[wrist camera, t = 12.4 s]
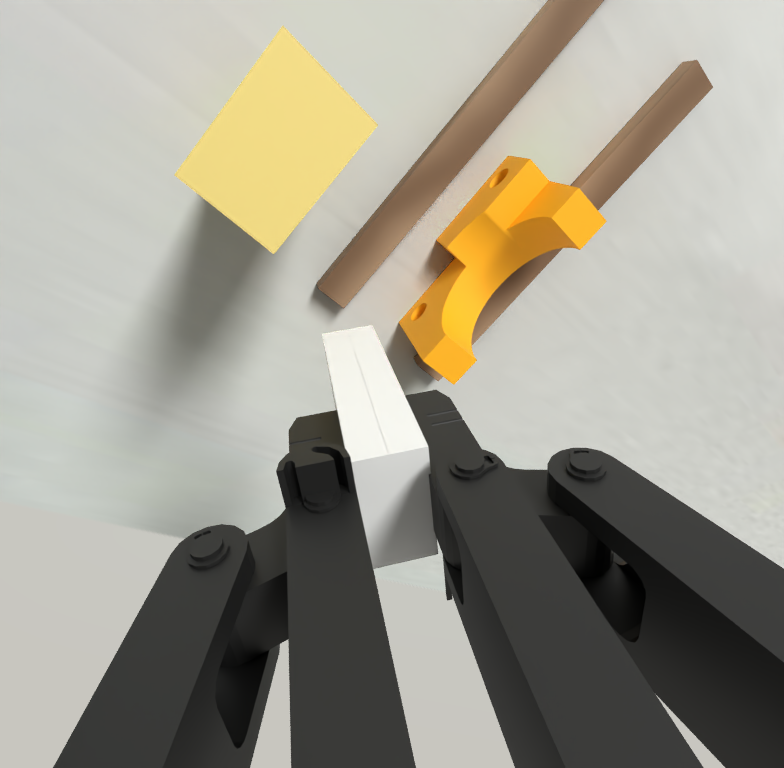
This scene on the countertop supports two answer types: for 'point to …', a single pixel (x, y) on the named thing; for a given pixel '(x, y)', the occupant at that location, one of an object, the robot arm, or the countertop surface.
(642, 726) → the robot arm
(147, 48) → the countertop surface
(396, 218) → the channel
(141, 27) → the countertop surface
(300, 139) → the yellow rectangular block
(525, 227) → the pipe clamp
